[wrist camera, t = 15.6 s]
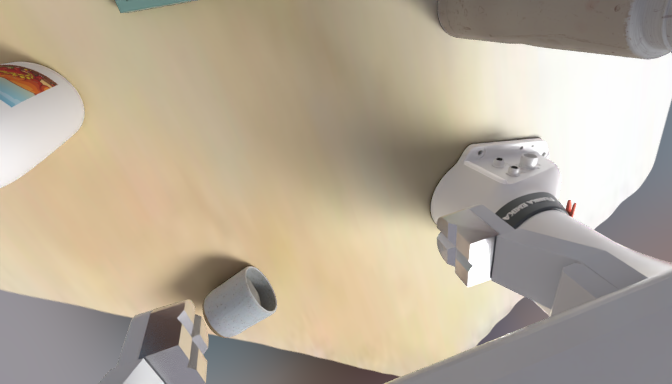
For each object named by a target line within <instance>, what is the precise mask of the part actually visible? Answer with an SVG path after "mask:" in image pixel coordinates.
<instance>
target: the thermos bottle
mask: <svg viewBox="0 0 672 384" xmlns="http://www.w3.org/2000/svg"><path fill="white" fill-rule="evenodd" d="M437 10H438V17H439V21H440V24H441V26H442V28H443V29H444V30H445V32H447V33H448V34H449V35H451V36H453V37H456V38H464V39H473V40H482V41H490V42H499V43H510V44H526V45H531V46H537V47H544V48H552V49H561V50H570V51H578V52H587V53H596V54H605V55H614V56H622V57H631V58H640V59H654V58H658V57H661V56H663V55H666V54H668V53H670V52H672V0H438V7H437Z"/></svg>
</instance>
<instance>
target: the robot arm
mask: <svg viewBox="0 0 672 384" xmlns="http://www.w3.org/2000/svg"><path fill="white" fill-rule="evenodd" d="M560 188H561V173H560V170H559V168H558V166H557V165H556V164H555V163H554V162H552V161H551V160H549V149H548V145H547V143H546V141H545V140H543V139H541V138H534V139H523V140H512V141H501V142H490V143H479V144H471V145H469V146H468V147H467V148H466V149H465V150H464V152H463V153H462V155H461V157H460V159H459V160H458V162H457V163H456V164H455V165H454V166H453V167H452V168H451V169H450V170H449V171H448V172H447V173H446V174H445V175H444V177H443V178H442V179H441V181H440V182H439V184H438V185H437V187H436V189H435V191H434V194H433V197H432V201H431V214H432V218H433V220H434V222H435V223H436V224H437V228H438V229H439V230H440V231H441V232H440V234H439V235H438V237H437V246H438V249H439V252H440V254H441V256H442V258H443V259H444V260H445V261H446V263H447V264H450V265H452V266H455V273H456V274H457V276H458V277H459V278H460V279H461V280H462V281H463V282H464V284H465V285H466V286H467V287H469V286H472V285H475V284H478V283H481V282H484V281H487V280H490V279H491V280H492V281H494V282H496V283H498V284H500V285H502V286H504V287H506V288H508V289H510V290H512V291H514V292H516V293H518V294H520V295H522V296H524V297H526V298H529V299H531V300H533V301H534V302H535V303H536V304H537V305H538V306H539V307H540V308H541V309H542V310H543V311H544V312H545V313H547V314H548V315H549V318H547V319H544V320H542V321H539V322H537V323H534V324H532V325H529V326H527V327H524V328H522V329H519V330H517V331H514V332H512V333H509V334H507V335H504V336H502V337H499V338H497V339H494V340H492V341H489V342H487V343H484V344H482V345H479V346H477V347H474V348H472V349H469V350H467V351H464V352H462V353H459V354H457V355H454V356H452V357H449V358H447V359H444V360H442V361H439V362H437V363H434V364H432V365H429V366H427V367H424V368H422V369H419V370H417V371H414V372H412V373H409V374H407V375H404V376H402V377H399V378H397V379H394V380H392V381H389V382H387V383H384V384H672V263H669V262H666V261H663V260H659V259H656V258H653V257H650V256H647V255H644V254H642V253H639V252H636V251H634V250H631V249H629V248H627V247H624V246H622V245H620V244H618V243H616V242H614V241H612V240H611V239H609V238H607V237H605V236H604V235H602V234H600V233H598V232H596V231H595V230H593V229H591V228H589V227H588V226H586V225H584V224H583V223H581V222H579V221H577V220H576V219H574V218H573V215H574V211H575V207H576V203H574V205H573V207H572V210H571V200H568V202H567V206H566V210H565V208H564V207H563V206H562V205H561V203H560V202H559V201H558V200H559V194H560ZM195 308H196V307H195V305H194V304H193V302H192V301H191V300H189V299H187V300H183V301H180V302H177V303H173V304H170V305H167V306H163V307H160V308H157V309H153V310H152V311H148V312H145V313H141V314H138V315H135V316H134V317H133V319H132V320H131V323H130V326H129V329H128V332H127V336H126V338H125V342H124V345H123V348H122V351H121V354H120V357H119V361H118V363H117V367H116V368H113V369H111V370H110V371H109V372H108V373H107V374H106V375H105V376H104V377H103V379H102V380H101V381H100V382H99V383H98V384H204V383H206V370H207V361H206V359H205V357H204V356H203V354H204V353H205V351H206V350H207V348H208V332H207V328H206V325H205V322H204V320H203V319H202V317H201V316H198V315H196V314H195Z"/></svg>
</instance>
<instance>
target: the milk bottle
mask: <svg viewBox="0 0 672 384" xmlns="http://www.w3.org/2000/svg"><path fill="white" fill-rule="evenodd" d="M84 115H85V111H84V105H83V101H82V99H81V97H80V95H79V93H78V92H77V90H76V89H75V88H74V86H73V85H72V84H71V83H70V82H69V81H68V80H67V79H65V78H64V77H63V76H62V75H60V74H59V73H57V72H55V71H54V70H52V69H50V68H47V67H45V66H42V65H39V64H35V63H30V62H11V63H5V64H0V188H2V187H4V186H6V185H8V184H10V183H12V182H13V181H15V180H17V179H18V178H20V177H21V176H23V175H24V174H25V173H27V172H28V171H30V170H31V169H32V168H34V167H35V166H36V165H37V164H39V163H40V162H41V161H42V160H44V159H45V158H46V157H47V156H49V155H50V154H51V153H52V152H54V151H55V150H56V149H57V148H58V147H60V146H61V145H62V144H63V143H64V142H66V141H67V140H68V139H69V138H70V137H72V136H73V135H74V134H75V133H76V132H77V131H78V130H79V128H80V127H81V125H82V123H83V120H84Z"/></svg>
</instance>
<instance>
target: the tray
mask: <svg viewBox="0 0 672 384" xmlns="http://www.w3.org/2000/svg"><path fill="white" fill-rule="evenodd" d="M115 1H116V4H117V6H118V8H119V10H120V13H129V12H135V11H140V10H146V9H152V8H157V7H163V6H169V5H174V4H180V3H185V2H191V1H197V0H115Z"/></svg>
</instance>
